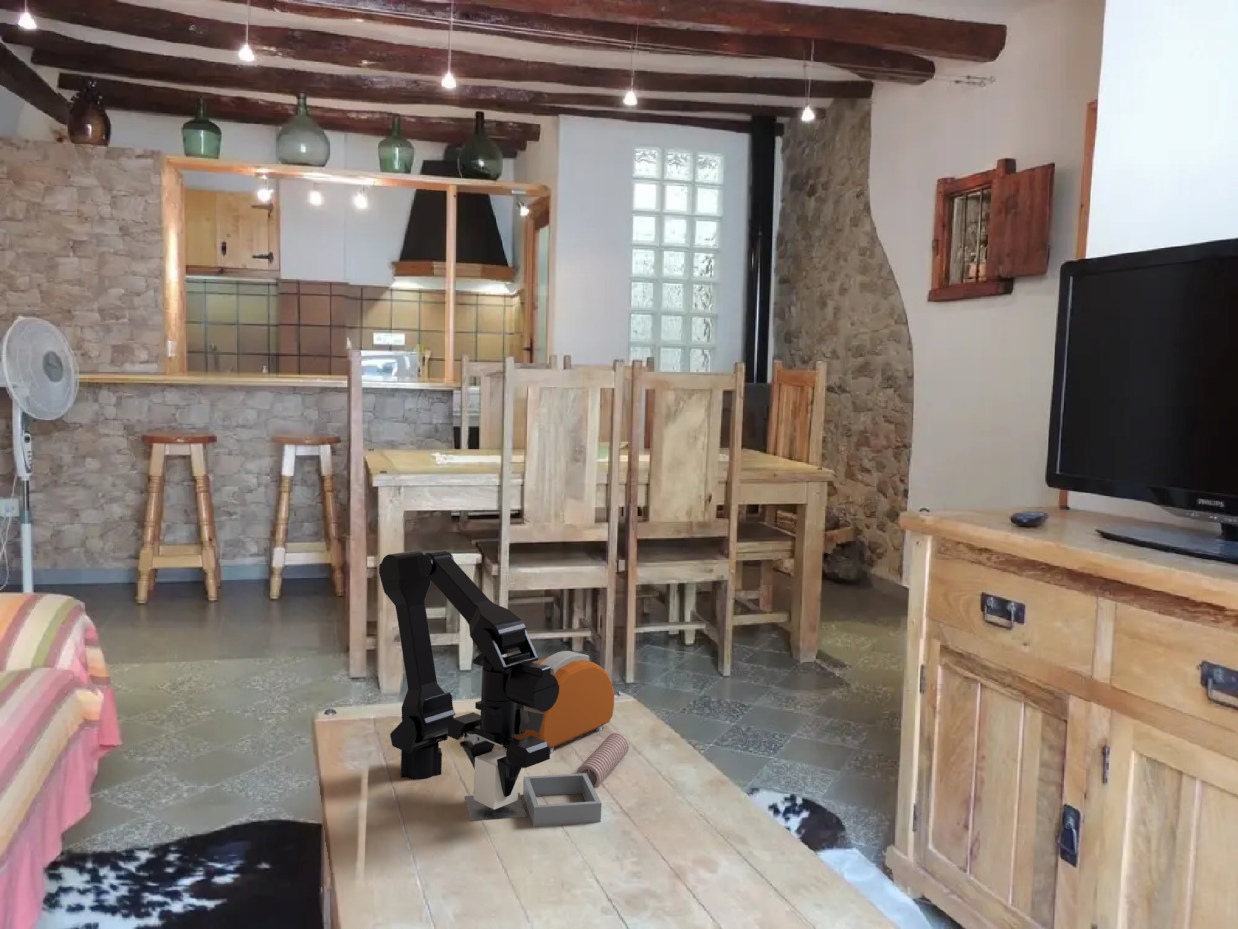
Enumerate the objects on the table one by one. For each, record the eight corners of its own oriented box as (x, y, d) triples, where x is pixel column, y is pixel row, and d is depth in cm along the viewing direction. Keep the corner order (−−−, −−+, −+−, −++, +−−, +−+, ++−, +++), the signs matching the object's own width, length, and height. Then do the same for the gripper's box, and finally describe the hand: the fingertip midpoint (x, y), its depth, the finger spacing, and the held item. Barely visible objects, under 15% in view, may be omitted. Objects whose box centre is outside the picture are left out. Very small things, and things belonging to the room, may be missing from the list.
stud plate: (469, 827, 147) (470, 796, 146) (464, 802, 156) (465, 773, 155) (527, 823, 149) (528, 793, 149) (519, 798, 158) (520, 770, 157)
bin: (533, 832, 146) (534, 807, 146) (522, 800, 157) (523, 776, 157) (600, 828, 149) (601, 803, 148) (585, 796, 160) (586, 773, 159)
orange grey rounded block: (580, 716, 198) (583, 638, 197) (614, 726, 193) (618, 646, 192) (503, 748, 179) (506, 661, 178) (540, 760, 174) (543, 671, 173)
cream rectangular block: (494, 809, 149) (495, 766, 148) (473, 799, 152) (474, 757, 151) (517, 800, 152) (519, 758, 152) (497, 790, 156) (498, 749, 155)
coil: (601, 770, 161) (632, 734, 178) (575, 763, 162) (608, 728, 179) (597, 796, 161) (628, 758, 178) (572, 789, 162) (605, 752, 180)
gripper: (576, 699, 151) (572, 794, 152) (498, 672, 163) (495, 760, 164) (525, 715, 142) (521, 816, 144) (447, 685, 155) (444, 778, 156)
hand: (496, 790), depth 152 cm, fingers closed on cream rectangular block, 5 cm apart
